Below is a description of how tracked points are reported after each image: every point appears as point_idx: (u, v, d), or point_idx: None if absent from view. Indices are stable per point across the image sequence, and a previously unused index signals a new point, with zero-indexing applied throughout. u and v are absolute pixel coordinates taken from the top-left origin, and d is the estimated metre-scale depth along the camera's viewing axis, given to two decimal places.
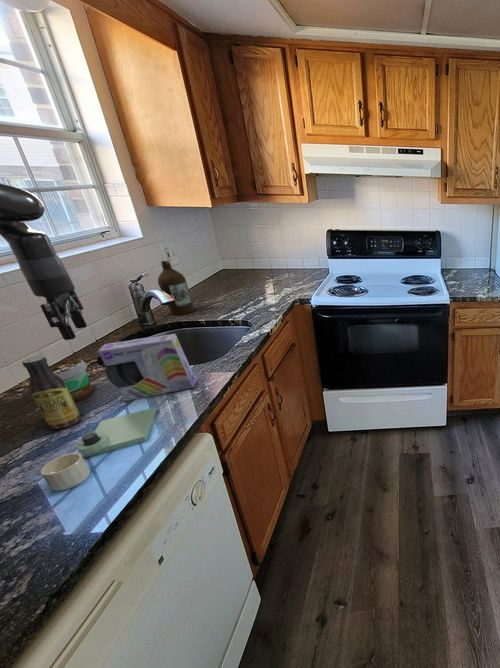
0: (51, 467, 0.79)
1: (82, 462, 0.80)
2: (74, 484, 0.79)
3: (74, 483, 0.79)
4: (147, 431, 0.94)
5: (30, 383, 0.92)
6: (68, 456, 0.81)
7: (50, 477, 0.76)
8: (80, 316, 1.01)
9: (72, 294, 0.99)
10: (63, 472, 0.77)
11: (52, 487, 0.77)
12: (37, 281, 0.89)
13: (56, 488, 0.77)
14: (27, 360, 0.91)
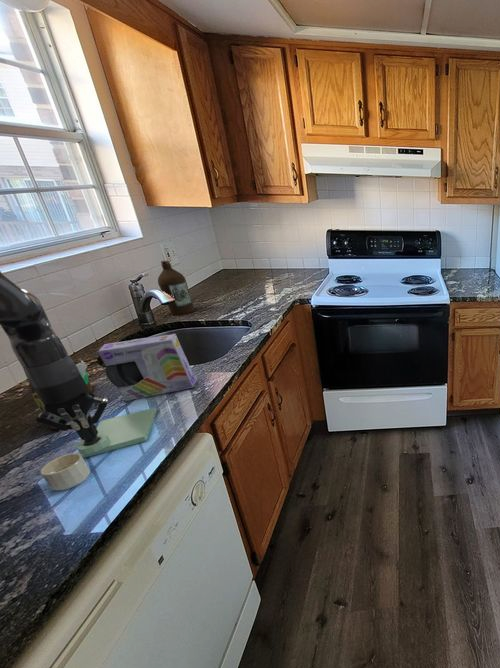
0: (51, 467, 0.79)
1: (82, 462, 0.80)
2: (74, 484, 0.79)
3: (74, 483, 0.79)
4: (147, 431, 0.94)
5: None
6: (68, 456, 0.81)
7: (50, 477, 0.76)
8: (84, 430, 0.85)
9: (99, 405, 0.85)
10: (63, 472, 0.77)
11: (52, 487, 0.77)
12: None
13: (56, 488, 0.77)
14: None
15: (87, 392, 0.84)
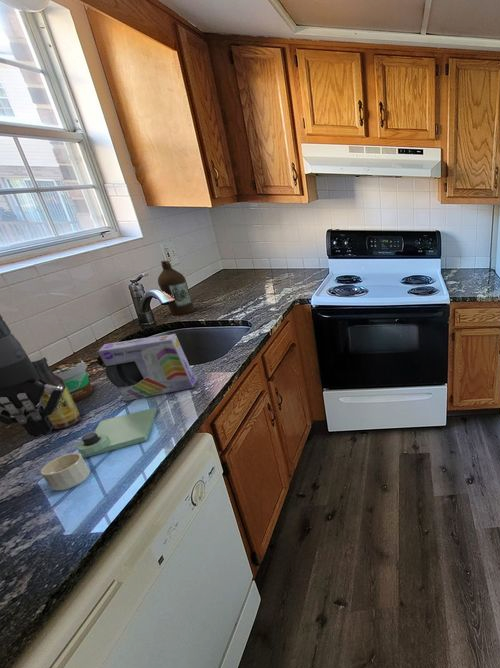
0: (51, 467, 0.79)
1: (82, 462, 0.80)
2: (74, 484, 0.79)
3: (74, 483, 0.79)
4: (147, 431, 0.94)
5: None
6: (68, 456, 0.81)
7: (50, 477, 0.76)
8: (35, 422, 0.73)
9: (51, 393, 0.73)
10: (63, 472, 0.77)
11: (52, 487, 0.77)
12: None
13: (56, 488, 0.77)
14: None
15: (37, 378, 0.71)
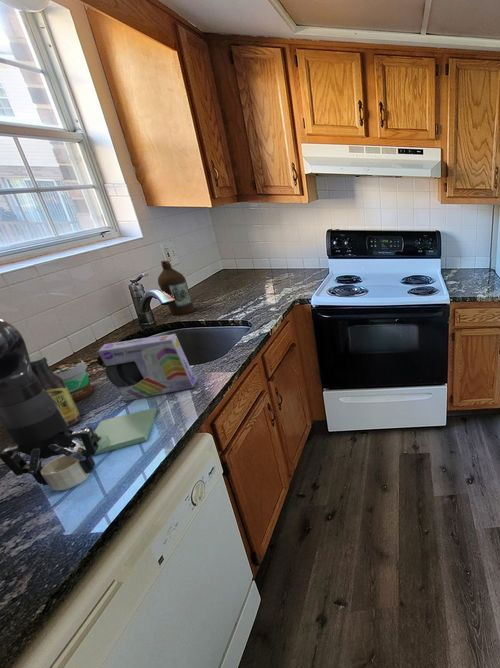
0: (51, 467, 0.79)
1: None
2: (74, 484, 0.79)
3: (74, 483, 0.79)
4: (147, 431, 0.94)
5: None
6: None
7: (50, 477, 0.76)
8: (80, 462, 0.79)
9: None
10: (63, 472, 0.77)
11: (52, 487, 0.77)
12: None
13: (56, 488, 0.77)
14: None
15: (66, 429, 0.77)
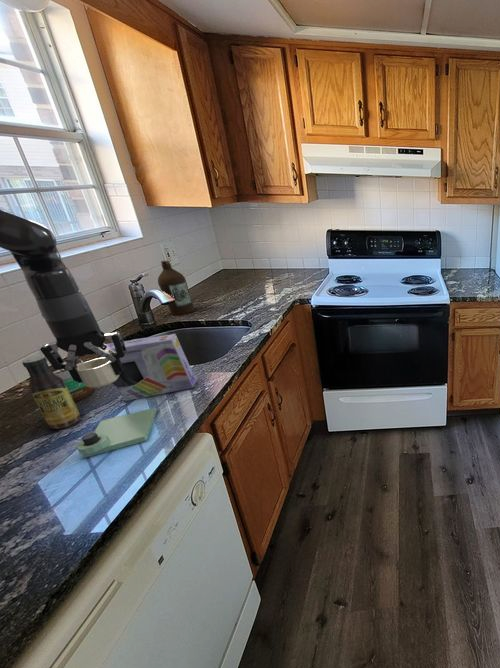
0: (84, 368, 0.87)
1: None
2: (105, 383, 0.87)
3: (105, 381, 0.87)
4: (147, 431, 0.94)
5: (30, 383, 0.92)
6: (100, 360, 0.89)
7: (85, 373, 0.84)
8: (111, 363, 0.87)
9: None
10: (96, 369, 0.85)
11: (86, 384, 0.85)
12: None
13: (90, 385, 0.85)
14: (27, 360, 0.91)
15: (99, 330, 0.84)
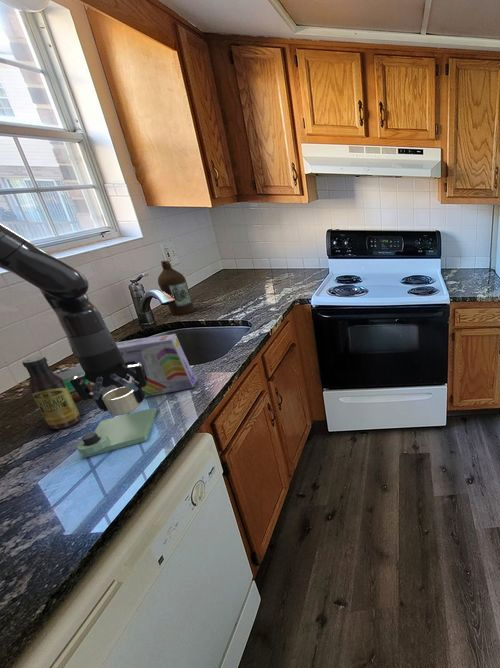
0: (109, 396, 0.93)
1: None
2: (129, 410, 0.93)
3: (129, 410, 0.93)
4: (147, 431, 0.94)
5: (30, 383, 0.92)
6: (123, 389, 0.95)
7: (110, 402, 0.90)
8: (133, 392, 0.93)
9: None
10: (121, 399, 0.91)
11: (111, 412, 0.91)
12: None
13: (114, 413, 0.91)
14: (27, 360, 0.91)
15: (123, 362, 0.91)
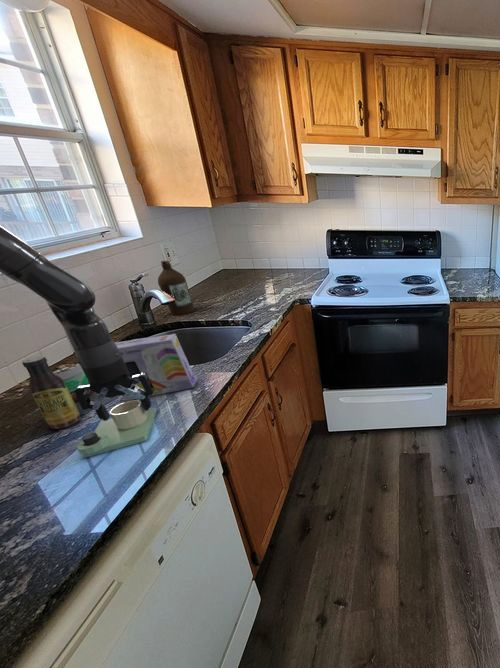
0: (116, 410, 0.95)
1: (141, 407, 0.96)
2: (136, 424, 0.95)
3: (136, 423, 0.95)
4: (147, 431, 0.94)
5: (30, 383, 0.92)
6: (129, 403, 0.97)
7: (118, 417, 0.92)
8: (140, 400, 0.95)
9: None
10: (128, 413, 0.93)
11: (118, 426, 0.93)
12: None
13: (122, 427, 0.93)
14: (27, 360, 0.91)
15: (128, 373, 0.92)
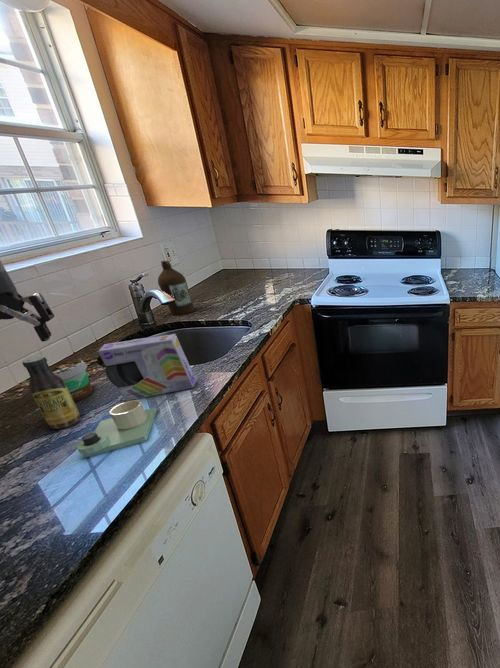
0: (116, 410, 0.95)
1: (141, 407, 0.96)
2: (136, 424, 0.95)
3: (136, 423, 0.95)
4: (147, 431, 0.94)
5: (30, 383, 0.92)
6: (129, 403, 0.97)
7: (118, 417, 0.92)
8: (34, 328, 0.79)
9: None
10: (128, 413, 0.93)
11: (118, 426, 0.93)
12: None
13: (122, 427, 0.93)
14: (27, 360, 0.91)
15: (15, 293, 0.76)
